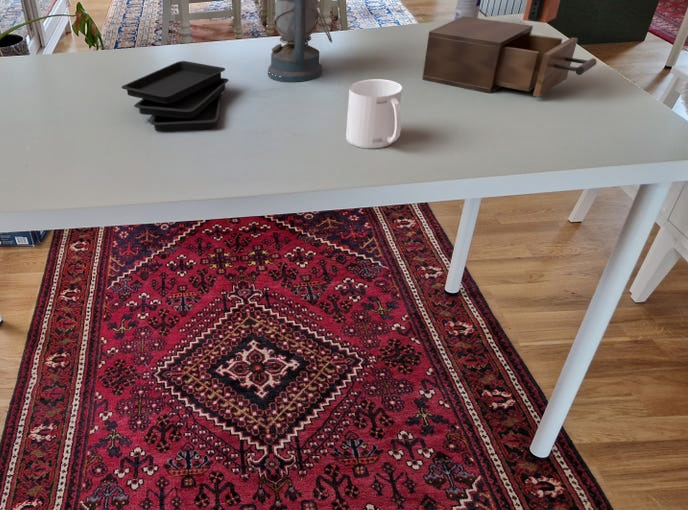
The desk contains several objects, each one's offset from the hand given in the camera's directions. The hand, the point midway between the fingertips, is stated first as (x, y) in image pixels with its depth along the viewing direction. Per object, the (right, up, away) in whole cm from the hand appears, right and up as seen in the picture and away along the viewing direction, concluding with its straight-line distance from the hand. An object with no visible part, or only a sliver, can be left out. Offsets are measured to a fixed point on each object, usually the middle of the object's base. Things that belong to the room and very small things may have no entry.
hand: (539, 17), depth 125 cm
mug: (-34, -27, -6) cm, 44 cm away
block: (0, 0, 0) cm, 0 cm away
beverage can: (+1, +17, +40) cm, 44 cm away
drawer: (+2, -10, +7) cm, 12 cm away
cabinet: (-7, -5, +15) cm, 18 cm away
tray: (-71, -12, +14) cm, 74 cm away
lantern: (-44, +1, +26) cm, 51 cm away
